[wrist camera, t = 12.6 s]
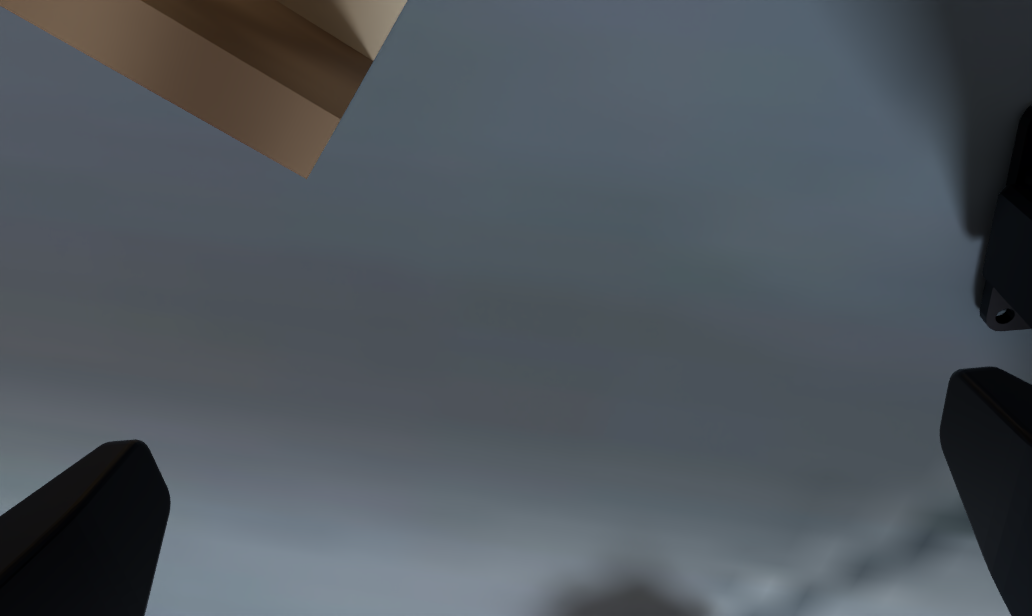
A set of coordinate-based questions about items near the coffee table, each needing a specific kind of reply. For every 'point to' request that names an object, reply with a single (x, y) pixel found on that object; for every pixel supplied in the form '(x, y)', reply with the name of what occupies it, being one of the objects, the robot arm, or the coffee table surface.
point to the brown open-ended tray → (235, 59)
